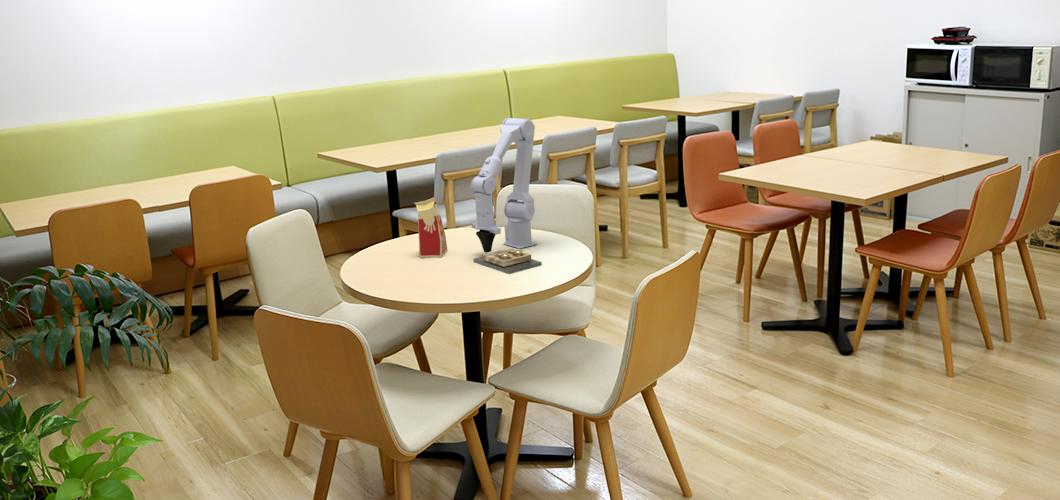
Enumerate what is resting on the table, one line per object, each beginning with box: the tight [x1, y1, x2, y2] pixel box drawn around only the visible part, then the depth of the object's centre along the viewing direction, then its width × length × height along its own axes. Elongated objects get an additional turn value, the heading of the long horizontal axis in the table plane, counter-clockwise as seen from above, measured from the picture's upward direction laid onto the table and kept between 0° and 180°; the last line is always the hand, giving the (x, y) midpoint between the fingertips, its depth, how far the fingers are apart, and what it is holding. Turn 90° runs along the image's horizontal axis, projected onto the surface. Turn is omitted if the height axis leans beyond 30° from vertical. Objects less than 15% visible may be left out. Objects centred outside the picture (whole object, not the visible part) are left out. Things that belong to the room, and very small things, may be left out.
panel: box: [481, 248, 532, 267], centre depth 293 cm, size 12×11×2 cm
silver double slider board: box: [472, 249, 543, 275], centre depth 293 cm, size 20×13×4 cm, turn 37°
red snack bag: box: [413, 196, 448, 259], centre depth 307 cm, size 9×9×20 cm
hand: (487, 251), depth 301 cm, fingers closed
